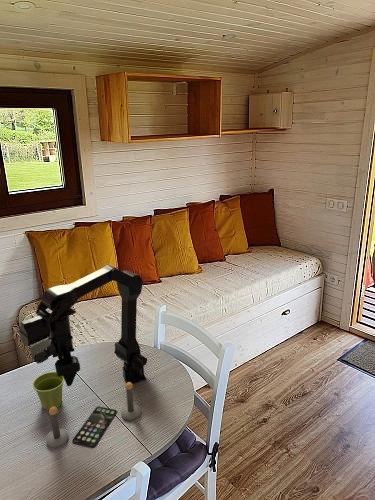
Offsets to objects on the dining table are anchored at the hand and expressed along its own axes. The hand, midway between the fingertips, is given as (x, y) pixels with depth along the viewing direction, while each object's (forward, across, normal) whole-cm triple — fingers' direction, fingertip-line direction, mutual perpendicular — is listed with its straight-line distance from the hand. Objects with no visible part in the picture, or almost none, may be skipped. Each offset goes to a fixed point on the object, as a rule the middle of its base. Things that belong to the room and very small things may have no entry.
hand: (66, 376), depth 113 cm
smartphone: (+14, +8, +6) cm, 18 cm away
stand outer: (+14, +9, -6) cm, 17 cm away
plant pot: (+14, -7, -5) cm, 16 cm away
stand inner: (+14, +8, +16) cm, 23 cm away
